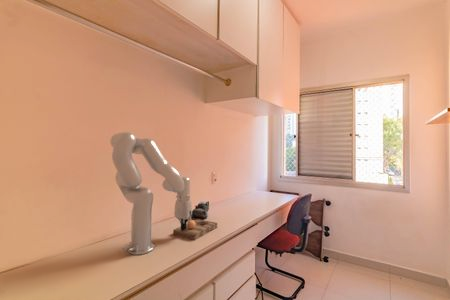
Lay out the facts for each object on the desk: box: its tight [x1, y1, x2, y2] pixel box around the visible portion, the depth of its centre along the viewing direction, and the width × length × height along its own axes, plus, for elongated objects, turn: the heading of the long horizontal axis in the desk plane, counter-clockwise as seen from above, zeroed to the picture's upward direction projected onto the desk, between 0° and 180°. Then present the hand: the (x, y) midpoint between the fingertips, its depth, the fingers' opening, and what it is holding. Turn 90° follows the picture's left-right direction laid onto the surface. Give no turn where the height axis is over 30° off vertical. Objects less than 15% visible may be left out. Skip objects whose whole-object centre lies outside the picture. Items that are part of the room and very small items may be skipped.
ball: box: [186, 219, 196, 229], centre depth 135 cm, size 5×5×5 cm
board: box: [172, 218, 218, 241], centre depth 140 cm, size 24×16×3 cm, turn 150°
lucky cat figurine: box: [191, 201, 210, 219], centre depth 169 cm, size 15×12×14 cm
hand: (183, 229), depth 131 cm, fingers closed
